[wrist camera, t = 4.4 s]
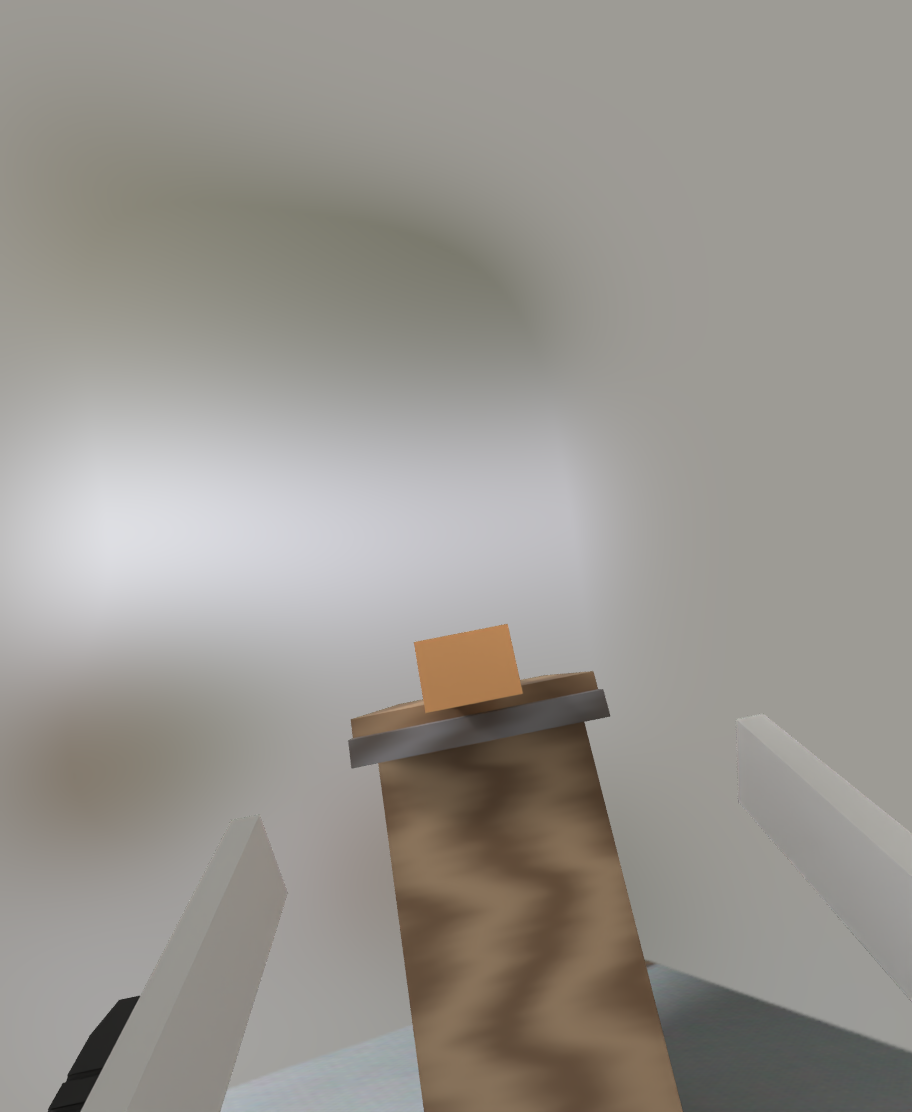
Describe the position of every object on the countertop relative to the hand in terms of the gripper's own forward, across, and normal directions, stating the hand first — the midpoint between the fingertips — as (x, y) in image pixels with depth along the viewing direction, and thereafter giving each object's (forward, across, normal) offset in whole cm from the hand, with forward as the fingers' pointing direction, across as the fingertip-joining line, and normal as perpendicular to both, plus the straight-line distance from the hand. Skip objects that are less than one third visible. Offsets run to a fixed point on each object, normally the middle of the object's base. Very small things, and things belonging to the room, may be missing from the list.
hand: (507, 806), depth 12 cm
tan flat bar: (+15, 0, -6) cm, 16 cm away
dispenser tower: (+5, 0, -35) cm, 35 cm away
